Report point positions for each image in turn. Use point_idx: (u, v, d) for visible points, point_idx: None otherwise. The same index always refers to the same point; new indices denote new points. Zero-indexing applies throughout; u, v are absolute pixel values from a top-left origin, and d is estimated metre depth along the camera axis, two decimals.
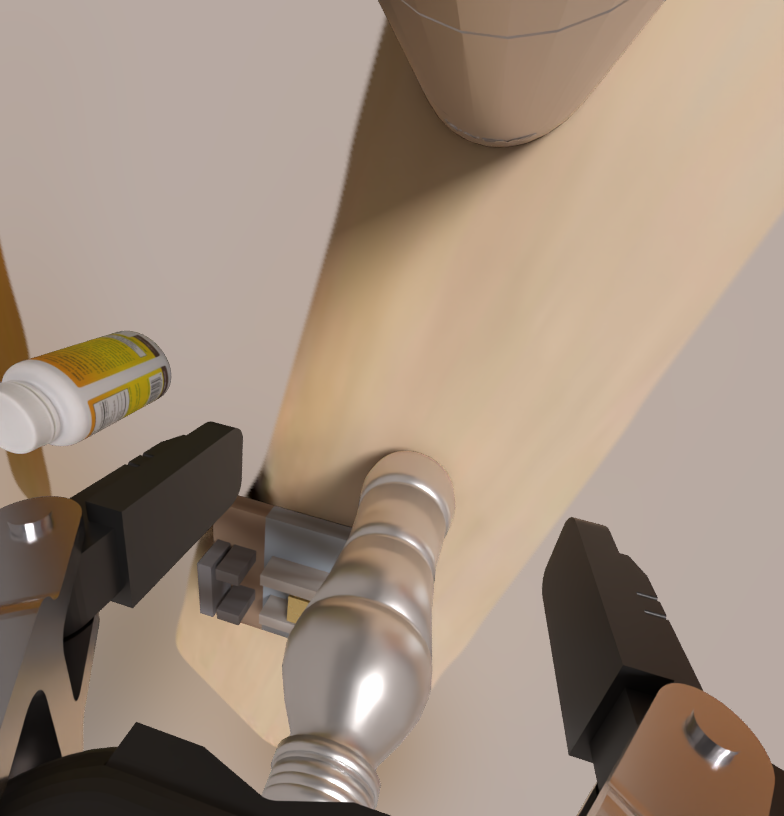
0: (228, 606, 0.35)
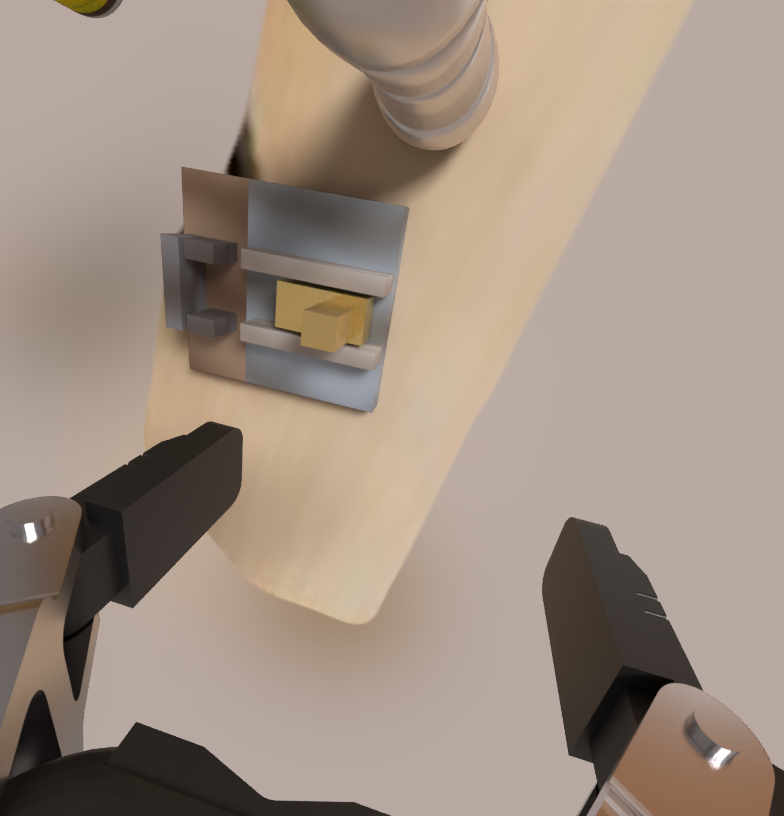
0: (201, 315, 0.28)
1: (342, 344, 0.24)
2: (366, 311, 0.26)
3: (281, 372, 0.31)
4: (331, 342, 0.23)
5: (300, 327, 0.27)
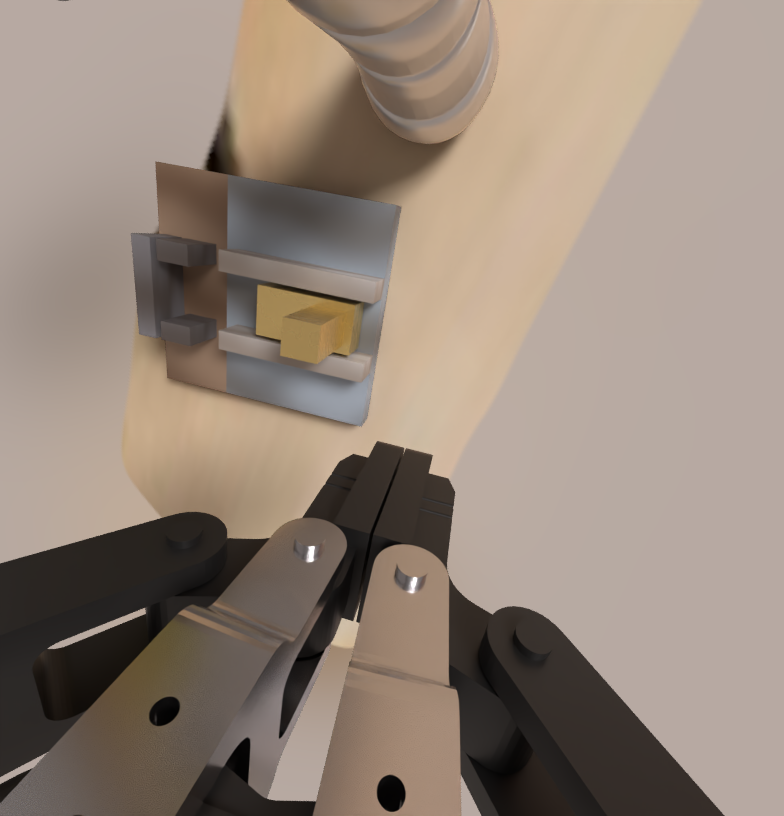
0: (177, 321, 0.26)
1: (327, 355, 0.22)
2: (354, 318, 0.24)
3: (264, 383, 0.29)
4: (313, 352, 0.21)
5: None
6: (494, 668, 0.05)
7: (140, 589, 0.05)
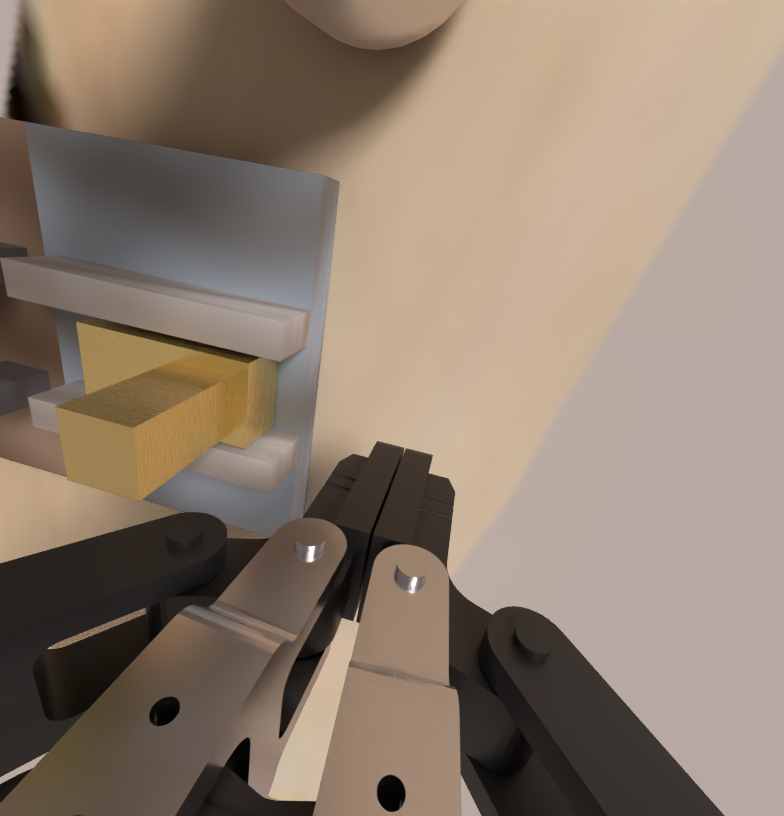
0: None
1: (181, 467, 0.11)
2: (250, 385, 0.13)
3: None
4: (129, 479, 0.10)
5: None
6: (494, 668, 0.05)
7: (140, 589, 0.05)
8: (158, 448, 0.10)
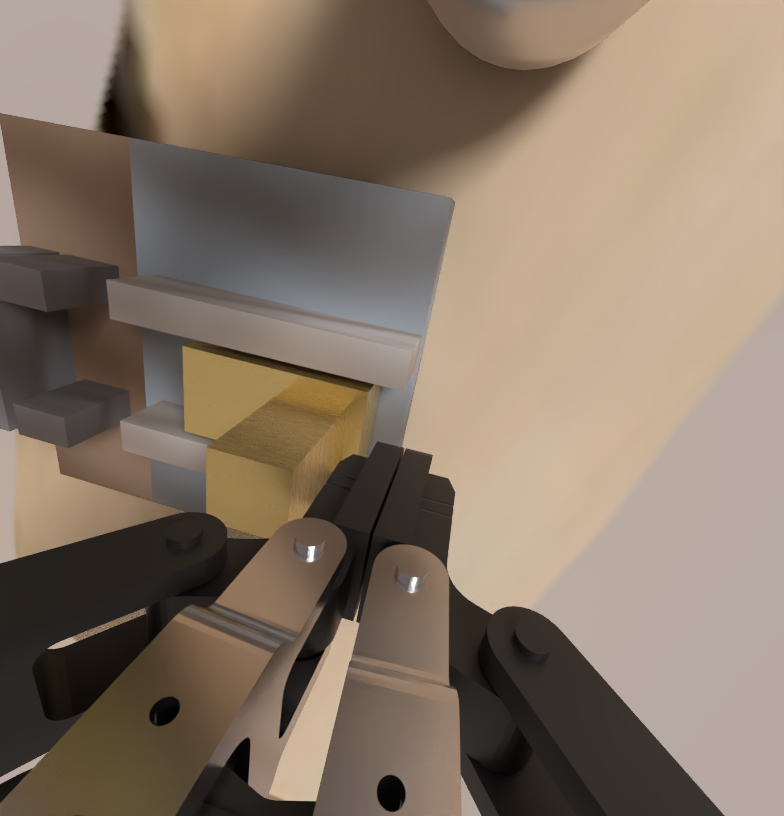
0: (46, 403, 0.14)
1: (311, 503, 0.11)
2: (365, 413, 0.12)
3: None
4: (278, 522, 0.09)
5: None
6: (494, 668, 0.05)
7: (140, 589, 0.05)
8: (302, 488, 0.10)
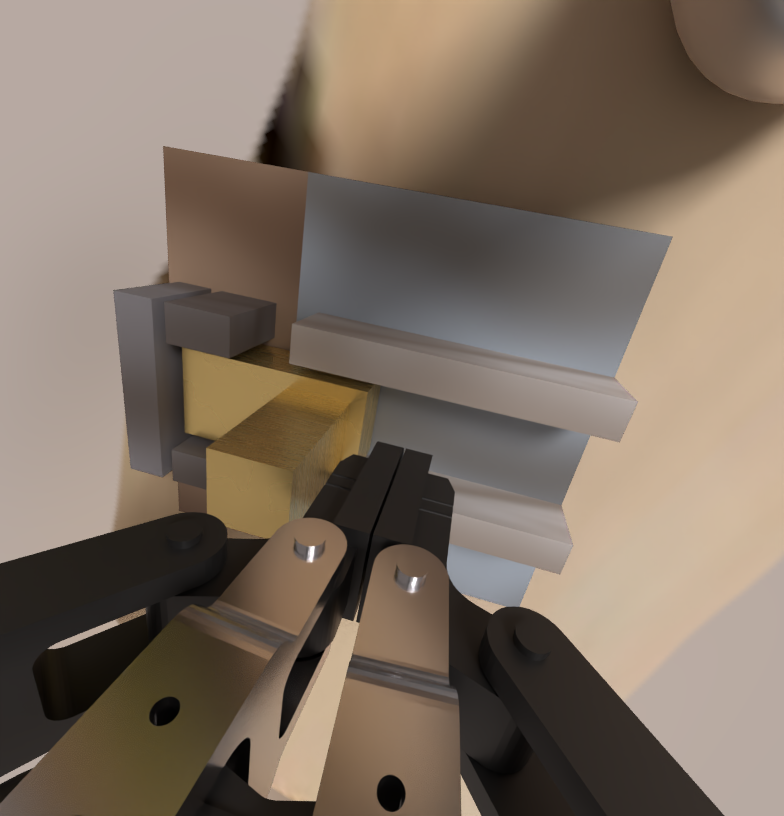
0: (202, 448, 0.14)
1: (311, 503, 0.11)
2: (365, 413, 0.12)
3: None
4: (279, 523, 0.09)
5: None
6: (494, 668, 0.05)
7: (139, 590, 0.05)
8: (303, 488, 0.10)
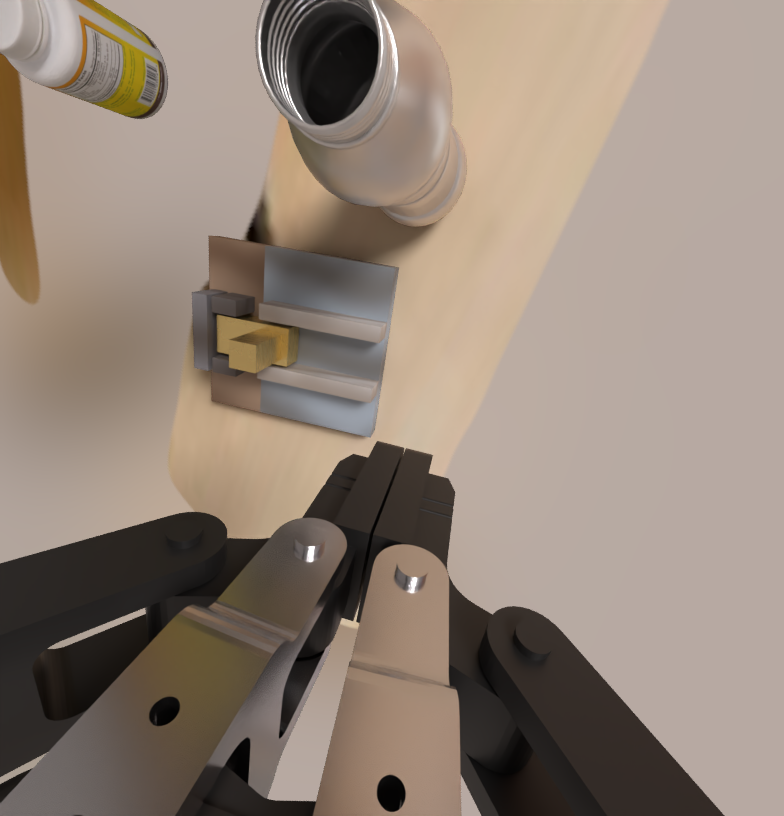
0: (224, 357, 0.33)
1: (266, 366, 0.30)
2: (289, 338, 0.32)
3: (291, 403, 0.36)
4: (252, 365, 0.28)
5: None
6: (494, 668, 0.05)
7: (139, 590, 0.05)
8: (260, 355, 0.29)
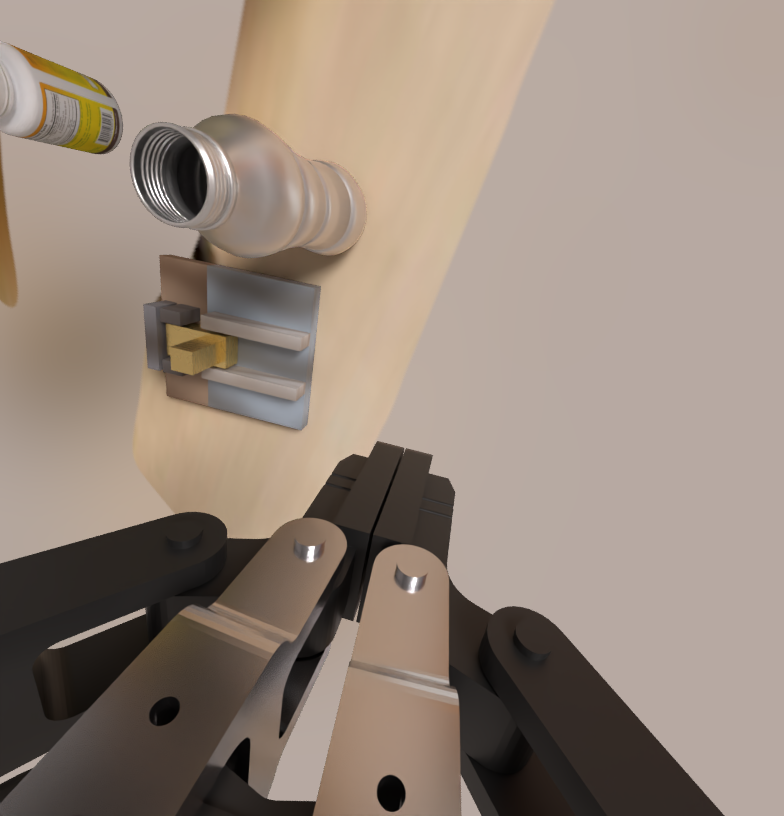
0: None
1: (204, 369, 0.36)
2: (226, 345, 0.37)
3: (234, 399, 0.42)
4: (190, 368, 0.34)
5: None
6: (494, 668, 0.05)
7: (140, 589, 0.05)
8: (197, 360, 0.34)
